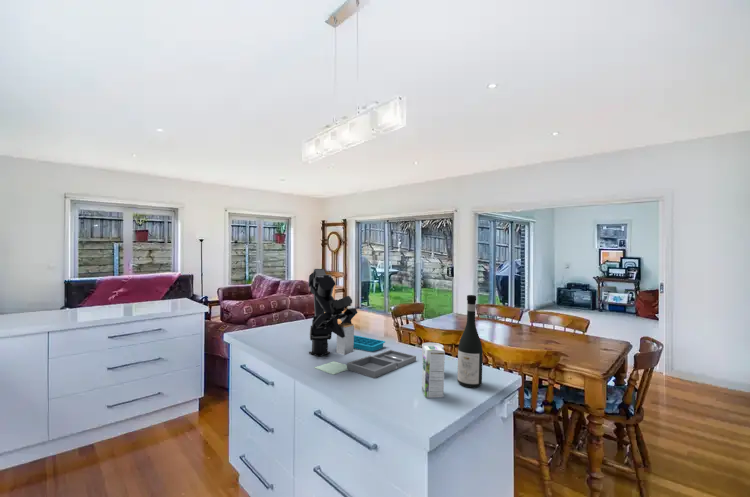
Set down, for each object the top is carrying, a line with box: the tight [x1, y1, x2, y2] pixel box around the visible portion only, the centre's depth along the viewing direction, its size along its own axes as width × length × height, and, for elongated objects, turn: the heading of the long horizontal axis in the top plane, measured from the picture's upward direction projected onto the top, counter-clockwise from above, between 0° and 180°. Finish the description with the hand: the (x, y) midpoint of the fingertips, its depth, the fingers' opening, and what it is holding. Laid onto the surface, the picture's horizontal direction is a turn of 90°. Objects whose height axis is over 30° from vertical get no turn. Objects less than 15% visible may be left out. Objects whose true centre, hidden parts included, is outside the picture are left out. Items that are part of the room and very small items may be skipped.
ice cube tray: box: [353, 334, 386, 352], centre depth 161 cm, size 12×20×3 cm, turn 57°
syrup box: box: [421, 345, 446, 399], centre depth 109 cm, size 6×6×14 cm
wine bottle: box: [457, 294, 484, 389], centre depth 118 cm, size 8×8×30 cm
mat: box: [313, 361, 349, 375], centre depth 130 cm, size 10×10×1 cm
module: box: [336, 322, 355, 356], centre depth 130 cm, size 4×5×10 cm
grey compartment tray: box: [346, 349, 417, 379], centre depth 135 cm, size 13×27×2 cm, turn 141°
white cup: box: [421, 342, 445, 365], centre depth 128 cm, size 8×8×10 cm
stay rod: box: [384, 355, 403, 361], centre depth 140 cm, size 10×1×1 cm, turn 51°
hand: (348, 335), depth 130 cm, fingers closed on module, 5 cm apart
